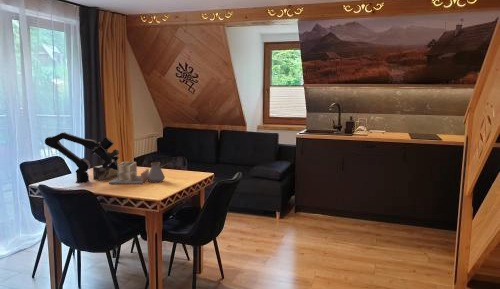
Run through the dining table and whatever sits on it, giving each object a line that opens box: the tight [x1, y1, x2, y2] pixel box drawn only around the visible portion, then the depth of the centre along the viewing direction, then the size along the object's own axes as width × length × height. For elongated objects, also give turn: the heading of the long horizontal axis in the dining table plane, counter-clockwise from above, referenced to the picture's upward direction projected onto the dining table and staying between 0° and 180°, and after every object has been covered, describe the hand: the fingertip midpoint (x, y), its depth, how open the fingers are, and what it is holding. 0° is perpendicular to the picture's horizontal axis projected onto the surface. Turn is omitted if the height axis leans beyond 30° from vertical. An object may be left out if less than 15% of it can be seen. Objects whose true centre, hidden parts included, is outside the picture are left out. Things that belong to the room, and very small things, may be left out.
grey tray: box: [108, 168, 150, 185], centre depth 254 cm, size 22×18×7 cm
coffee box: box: [92, 164, 118, 181], centre depth 264 cm, size 9×6×16 cm
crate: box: [117, 161, 138, 181], centre depth 254 cm, size 9×12×11 cm
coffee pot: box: [147, 161, 172, 184], centre depth 250 cm, size 21×12×15 cm, turn 54°
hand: (120, 170), depth 254 cm, fingers closed, pressing on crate
